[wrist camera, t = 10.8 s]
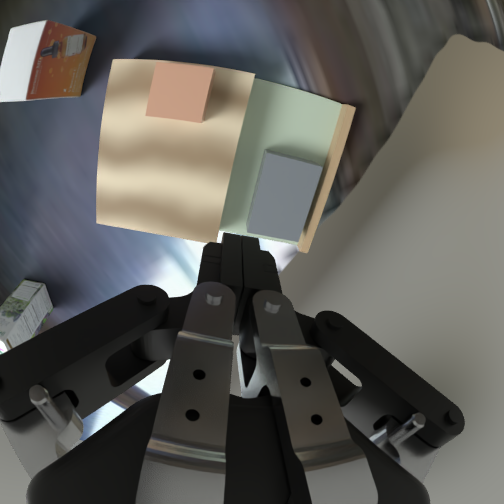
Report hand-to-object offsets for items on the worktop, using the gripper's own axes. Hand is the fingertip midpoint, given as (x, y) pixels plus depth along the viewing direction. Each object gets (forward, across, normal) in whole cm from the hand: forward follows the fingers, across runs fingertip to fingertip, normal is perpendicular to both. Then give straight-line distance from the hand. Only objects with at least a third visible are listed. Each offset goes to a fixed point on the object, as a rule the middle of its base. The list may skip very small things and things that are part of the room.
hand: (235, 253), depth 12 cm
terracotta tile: (+16, +6, -6) cm, 18 cm away
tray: (+20, -5, 0) cm, 21 cm away
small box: (+20, +22, -9) cm, 32 cm away
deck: (+20, +7, 0) cm, 21 cm away
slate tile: (+17, -6, +3) cm, 18 cm away
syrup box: (+20, +30, +27) cm, 45 cm away
